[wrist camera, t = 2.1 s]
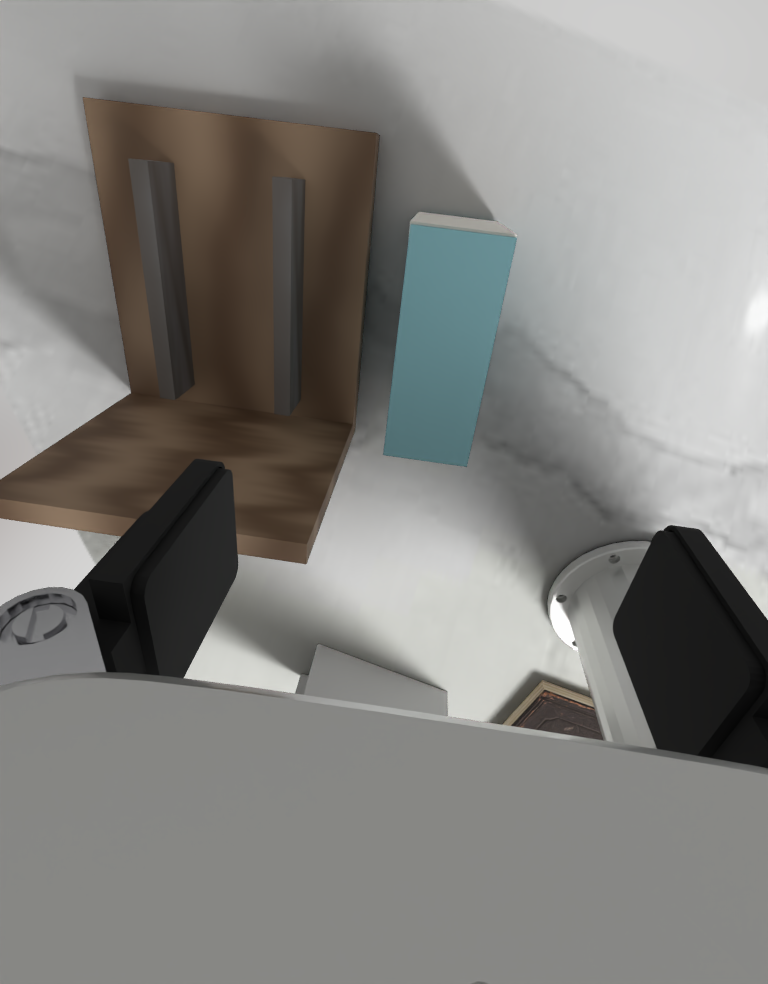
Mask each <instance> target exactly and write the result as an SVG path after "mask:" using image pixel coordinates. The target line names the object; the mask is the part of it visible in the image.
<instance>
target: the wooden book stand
mask: <svg viewBox="0 0 768 984" xmlns="http://www.w3.org/2000/svg"><path fill="white" fill-rule="evenodd" d="M83 102H84V109H85V115H86V121H87V127H88V133H89V139H90V145H91V151H92V157H93V163H94V169H95V175H96V181H97V187H98V194H99V200H100V206H101V212H102V218H103V224H104V230H105V236H106V242H107V248H108V254H109V260H110V266H111V273H112V279H113V285H114V291H115V297H116V303H117V309H118V315H119V321H120V327H121V333H122V339H123V345H124V351H125V358H126V364H127V370H128V376H129V382H130V388H131V394H129V395H127V396H126V397H124V398H123V399H121V400H120V401H118V402H117V403H115V404H114V405H112V406H111V407H109V408H108V409H106V410H105V411H103V412H102V413H100V414H99V415H97V416H96V417H94V418H93V419H91V420H90V421H88V422H87V423H85V424H84V425H82V426H81V427H79V428H78V429H76V430H75V431H73V432H72V433H70V434H69V435H67V436H66V437H64V438H62V439H61V440H59V441H58V442H56V443H55V444H53V445H52V446H50V447H49V448H47V449H46V450H44V451H43V452H41V453H40V454H38V455H37V456H35V457H34V458H33V459H31V460H29V461H28V462H26V463H25V464H23V465H22V466H20V467H19V468H17V469H16V470H14V471H13V472H11V473H10V474H8V475H7V476H5V477H4V478H2V479H1V480H0V518H3V519H9V520H15V521H22V522H29V523H36V524H42V525H49V526H55V527H62V528H69V529H75V530H82V531H89V532H95V533H102V534H109V535H115V536H123V535H124V533H125V532H126V531H127V530H128V529H129V528H130V527H131V526H132V525H133V523H134V522H135V521H136V520H137V519H138V518H139V517H140V516H141V515H142V514H143V513H144V512H146V511H149V510H150V509H151V508H152V506H153V505H154V504H155V503H156V502H157V501H158V500H159V499H160V497H161V496H162V495H163V494H164V493H165V492H166V491H167V490H168V488H169V487H170V486H171V485H172V484H173V483H174V482H175V481H176V479H177V478H178V477H179V476H180V475H181V474H182V473H183V471H184V470H185V469H186V468H187V467H188V466H189V465H190V464H191V462H192V461H193V460H195V459H205V460H212V461H219V462H222V463H223V464H224V466H225V469H229V470H231V471H232V475H233V489H234V504H235V520H236V536H237V552H238V554H242V555H249V556H255V557H262V558H269V559H275V560H282V561H289V562H295V563H302V564H307V561H308V558H309V556H310V553H311V550H312V547H313V545H314V542H315V539H316V536H317V534H318V531H319V528H320V525H321V523H322V520H323V517H324V515H325V512H326V509H327V506H328V504H329V501H330V498H331V495H332V493H333V490H334V487H335V484H336V482H337V479H338V476H339V473H340V471H341V468H342V465H343V462H344V460H345V457H346V454H347V452H348V449H349V446H350V443H351V441H352V438H353V435H354V432H355V425H356V413H357V401H358V389H359V377H360V365H361V353H362V341H363V329H364V317H365V305H366V293H367V281H368V269H369V257H370V245H371V233H372V221H373V209H374V197H375V185H376V173H377V160H378V148H379V136H380V135H378V134H377V133H372V132H364V131H356V130H347V129H339V128H331V127H323V126H315V125H306V124H298V123H290V122H282V121H274V120H265V119H257V118H249V117H241V116H233V115H224V114H216V113H208V112H200V111H192V110H183V109H175V108H167V107H159V106H151V105H142V104H134V103H126V102H118V101H110V100H101V99H93V98H85V97H83Z"/></svg>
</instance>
